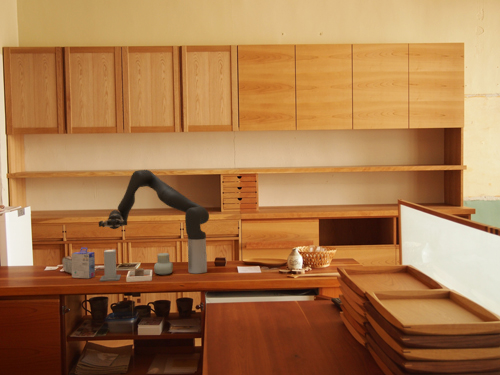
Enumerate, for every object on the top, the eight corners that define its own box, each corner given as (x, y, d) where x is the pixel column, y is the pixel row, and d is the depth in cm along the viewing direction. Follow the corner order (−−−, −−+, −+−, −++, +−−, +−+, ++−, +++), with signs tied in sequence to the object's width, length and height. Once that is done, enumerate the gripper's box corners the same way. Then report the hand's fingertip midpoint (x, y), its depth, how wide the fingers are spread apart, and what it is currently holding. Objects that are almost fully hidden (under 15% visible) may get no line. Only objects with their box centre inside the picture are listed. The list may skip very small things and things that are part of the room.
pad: (121, 275, 228) (120, 274, 228) (119, 280, 219) (119, 279, 219) (102, 276, 226) (102, 275, 226) (99, 281, 217) (99, 280, 217)
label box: (116, 275, 226) (115, 249, 225) (115, 278, 221) (114, 251, 220) (105, 276, 225) (105, 249, 224) (104, 278, 220) (103, 251, 219)
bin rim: (152, 273, 231) (152, 269, 231) (151, 280, 218) (151, 275, 218) (128, 275, 229) (128, 270, 229) (126, 281, 216) (126, 277, 216)
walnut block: (143, 278, 223) (143, 268, 223) (143, 280, 219) (143, 270, 219) (135, 278, 222) (135, 268, 222) (134, 280, 218) (134, 270, 218)
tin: (80, 274, 231) (80, 258, 231) (74, 276, 229) (74, 259, 228) (67, 270, 241) (66, 254, 241) (61, 271, 239) (60, 255, 239)
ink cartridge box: (95, 276, 228) (95, 247, 228) (89, 278, 223) (88, 249, 222) (78, 275, 230) (77, 246, 230) (71, 278, 225) (70, 248, 224)
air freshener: (170, 276, 226) (169, 256, 226) (153, 276, 226) (153, 256, 226) (173, 270, 237) (173, 251, 237) (157, 271, 237) (157, 252, 237)
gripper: (101, 215, 248) (96, 218, 232) (128, 213, 250) (125, 216, 234) (101, 228, 248) (97, 232, 232) (129, 227, 250) (126, 231, 235)
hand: (111, 224), depth 233 cm, fingers open, 8 cm apart
